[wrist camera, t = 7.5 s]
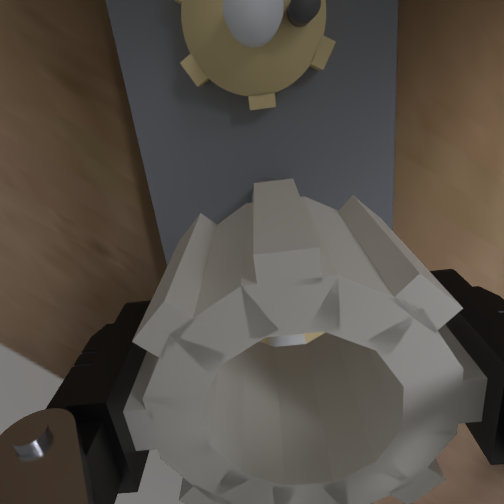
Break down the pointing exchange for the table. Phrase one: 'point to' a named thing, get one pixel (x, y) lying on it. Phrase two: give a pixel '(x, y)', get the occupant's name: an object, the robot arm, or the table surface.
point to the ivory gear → (300, 359)
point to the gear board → (259, 104)
